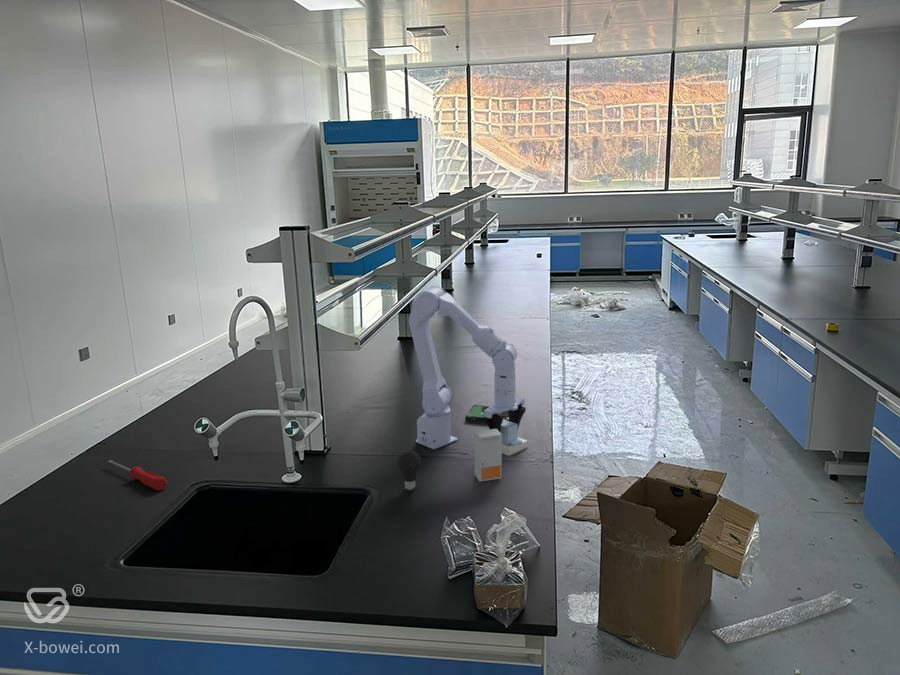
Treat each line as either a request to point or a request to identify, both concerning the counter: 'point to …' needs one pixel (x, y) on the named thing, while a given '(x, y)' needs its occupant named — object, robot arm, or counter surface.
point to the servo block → (509, 433)
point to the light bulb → (409, 467)
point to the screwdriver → (146, 477)
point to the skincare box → (488, 455)
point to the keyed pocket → (514, 447)
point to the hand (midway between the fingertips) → (504, 435)
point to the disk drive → (481, 415)
